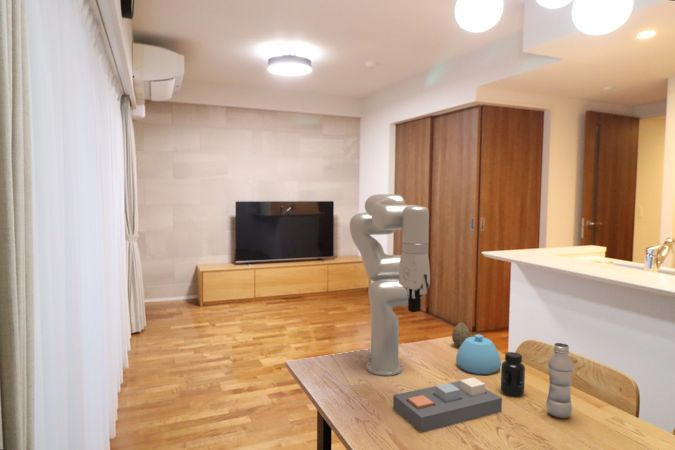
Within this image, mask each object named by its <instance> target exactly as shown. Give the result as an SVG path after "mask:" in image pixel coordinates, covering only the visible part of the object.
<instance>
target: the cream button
mask: <svg viewBox="0 0 675 450" xmlns="http://www.w3.org/2000/svg"><path fill="white" fill-rule="evenodd" d="M459 381H460V390H461V391H462V392H464V393H466V394H467V395H469V396H470V397H473V396H478V395H482V394H485V389H486V383H484V382H483V381H482V380H479V379H477V378H475V377H469V378H465V379H461V380H459Z"/></svg>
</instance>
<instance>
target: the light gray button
mask: <svg viewBox="0 0 675 450" xmlns="http://www.w3.org/2000/svg"><path fill="white" fill-rule="evenodd" d="M450 383H451V382H445V383H442V384H441V383H440V384H436V385H434V386H435V396H436V397H437V398H439V399H440V400H442V401H443V402H444V403H448V402H452V401H456V400H460V389H459V388H457V387H455V386H454V385H452V384H450Z"/></svg>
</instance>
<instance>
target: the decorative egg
mask: <svg viewBox="0 0 675 450" xmlns="http://www.w3.org/2000/svg"><path fill="white" fill-rule="evenodd" d="M469 337H472V336H471V331H470V329H469V327H468V326H467V325H466V324H465V323H464V322H462V321H461V322H458V324H456V325H455V326H454V328H453V330H452V333H451V339H452V342H453V343H454V345H456V347H458V348H460V346H461V345H462V343H463V342H464V341H465V339H467V338H469Z"/></svg>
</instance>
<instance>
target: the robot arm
mask: <svg viewBox="0 0 675 450" xmlns="http://www.w3.org/2000/svg"><path fill="white" fill-rule="evenodd" d="M364 210H365V212H360V213H357V214H354V215H352V217H351V219H350V220H349V229H350V230H349V231H350V236H351V239H352V242H353V243H354V245H355V246H356V248H357V250H358V252H359V253H360V257H361V260H362V264H363V265H364V271H365V272H366V275H367V277H368V279H369V280H370V281H372V282H371V283H370V284H369V286H368V299H369V300H368V301H369V304H370V306H369V307H370V352H368V356H370V361H368V362H367V364H366V370H367V371H368V372H369V373H371V374H374V375H377V376H383V377H385V376H387V377H389V376H396V375H398V374H400V373H402V372H403V368H404V366H403V364H402V363H401V362H399V330H400V328H399V327H400V326H399V325H400V321H399V317H398V315H397V314H396V313H395V311H393V309H392V308H394V307H395V308H396V307H407V310H408V312H411V313H417V312H421V301H422V297H423V295H427V294H428V289H429V288H430V285H431V270H430V259H429V258H430V257H429V239H430V238H429V236H430V235H429V234H430V232H429V230H430V229H429V227H430V224H429V223H430V222H429V221H430V219H429V218H430V212H429V211H430V210H429V208H428V207H425V206H422V205H421V206H420V205H418V204H406V200H405V199H404V197H403V196H402V195H400V194H395V193H393V194H389V193H388V194H385V193H384V194H373V195H370V196H368V198H367V199H366V200H365V201H364ZM397 230H401V231H402V233H401V234H402V236H401V253H400V254H386V253H385V251H384V247H383V246H382V244H381V243H380V242H379V241H378V240H377V239H376V238H374V237H373V236H374V235H375V236H376V235H377V236H381V235H382V236H383V235H391V234H394V233H395V232H396V231H397Z"/></svg>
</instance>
